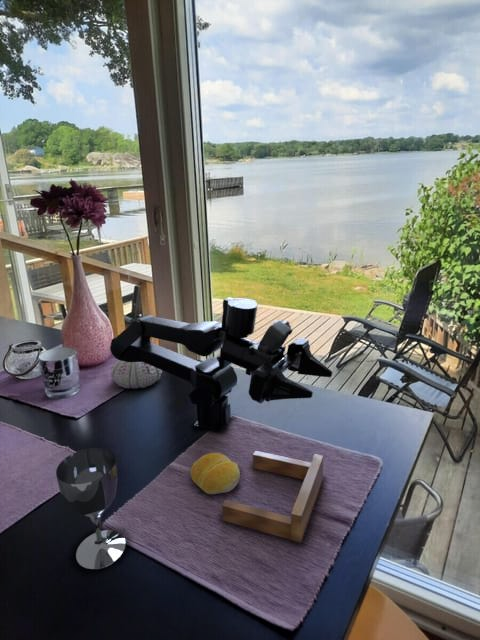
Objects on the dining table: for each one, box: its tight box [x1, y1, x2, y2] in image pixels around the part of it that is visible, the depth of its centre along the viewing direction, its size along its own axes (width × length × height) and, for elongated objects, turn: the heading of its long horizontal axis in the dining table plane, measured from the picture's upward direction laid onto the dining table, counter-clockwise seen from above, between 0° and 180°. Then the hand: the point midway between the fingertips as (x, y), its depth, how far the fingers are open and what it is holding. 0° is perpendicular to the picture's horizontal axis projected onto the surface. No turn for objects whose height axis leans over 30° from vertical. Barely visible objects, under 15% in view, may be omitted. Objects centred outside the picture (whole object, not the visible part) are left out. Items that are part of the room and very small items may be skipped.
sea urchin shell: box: [110, 359, 163, 390], centre depth 117 cm, size 13×14×8 cm
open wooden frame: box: [221, 450, 324, 543], centre depth 74 cm, size 13×15×5 cm
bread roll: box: [190, 452, 241, 495], centre depth 79 cm, size 8×9×4 cm
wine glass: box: [55, 447, 127, 570], centre depth 63 cm, size 8×8×15 cm
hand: (322, 384), depth 80 cm, fingers open, 9 cm apart
